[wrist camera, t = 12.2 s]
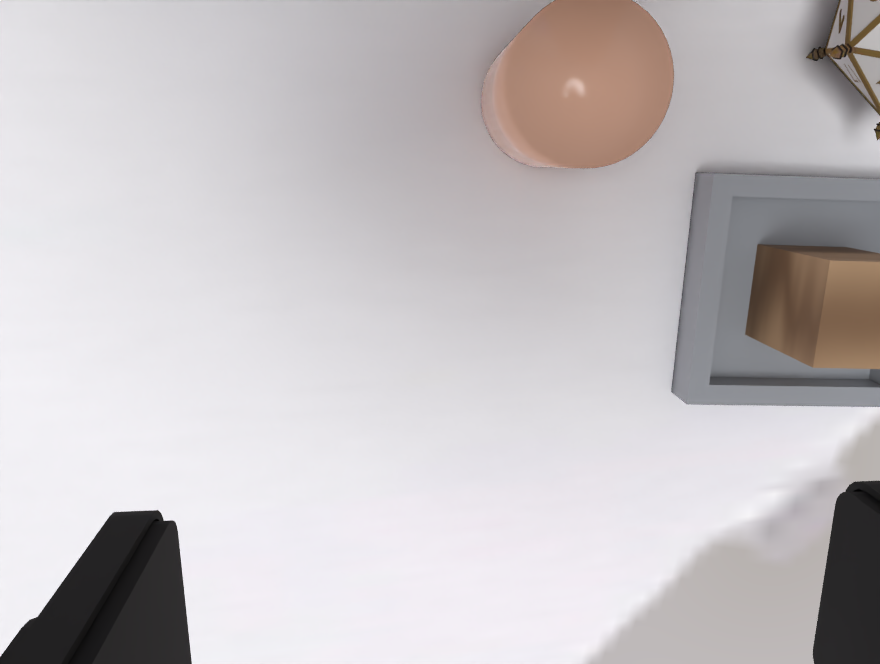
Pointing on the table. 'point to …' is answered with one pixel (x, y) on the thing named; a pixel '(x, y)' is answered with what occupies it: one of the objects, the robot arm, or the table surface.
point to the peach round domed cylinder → (579, 85)
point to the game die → (856, 47)
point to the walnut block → (817, 304)
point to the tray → (730, 280)
